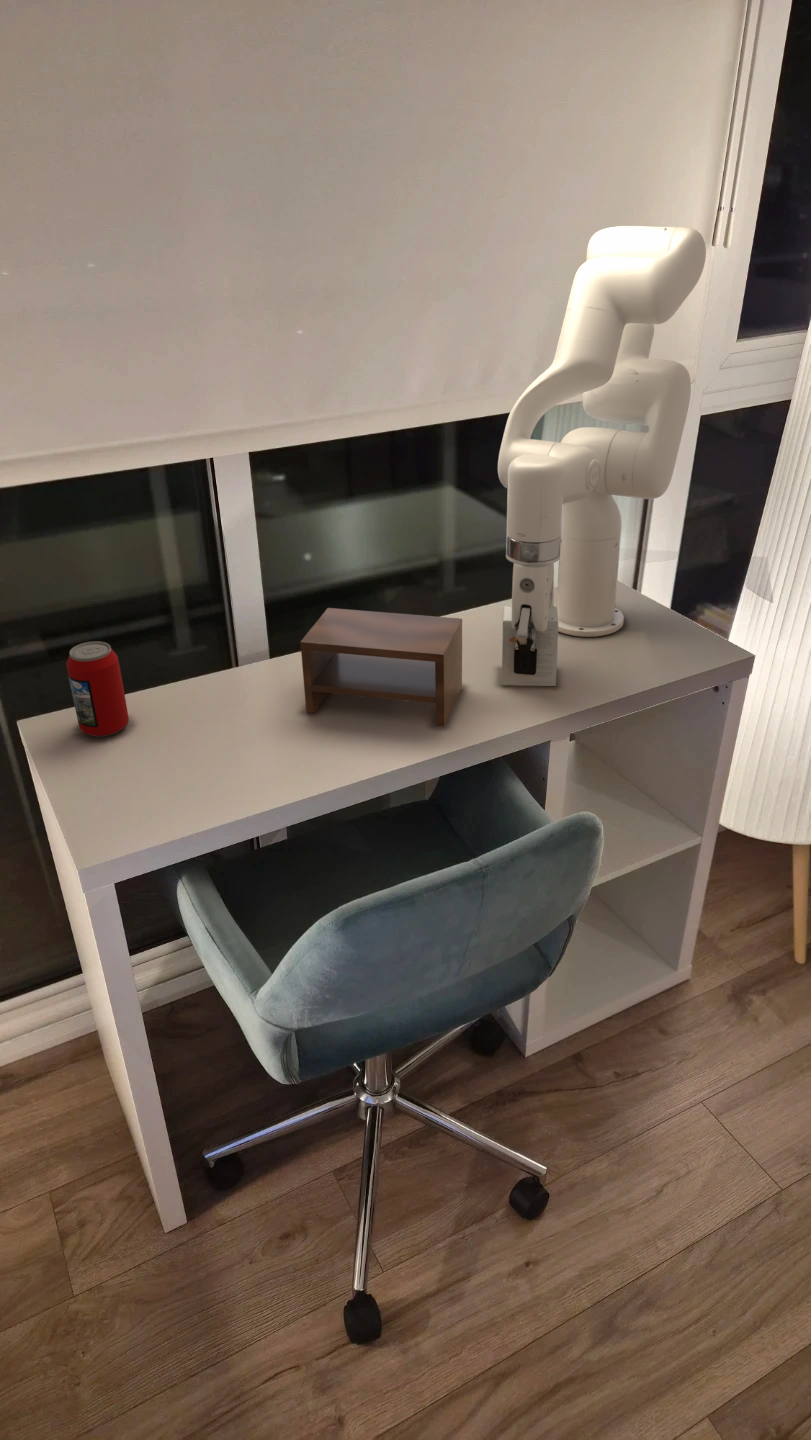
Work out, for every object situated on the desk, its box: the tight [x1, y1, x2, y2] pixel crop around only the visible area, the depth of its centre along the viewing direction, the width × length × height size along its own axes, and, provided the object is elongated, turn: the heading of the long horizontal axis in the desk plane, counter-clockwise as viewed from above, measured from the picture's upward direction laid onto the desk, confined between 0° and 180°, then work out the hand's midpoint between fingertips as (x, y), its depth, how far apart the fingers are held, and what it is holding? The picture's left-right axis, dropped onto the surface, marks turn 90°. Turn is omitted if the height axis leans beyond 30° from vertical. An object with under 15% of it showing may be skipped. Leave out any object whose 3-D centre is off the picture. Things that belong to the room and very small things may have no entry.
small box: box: [501, 605, 559, 687], centre depth 151 cm, size 8×6×10 cm
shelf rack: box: [300, 607, 463, 728], centre depth 146 cm, size 12×20×11 cm, turn 76°
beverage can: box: [65, 640, 130, 738], centre depth 141 cm, size 7×7×12 cm
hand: (528, 661), depth 153 cm, fingers open, 7 cm apart
